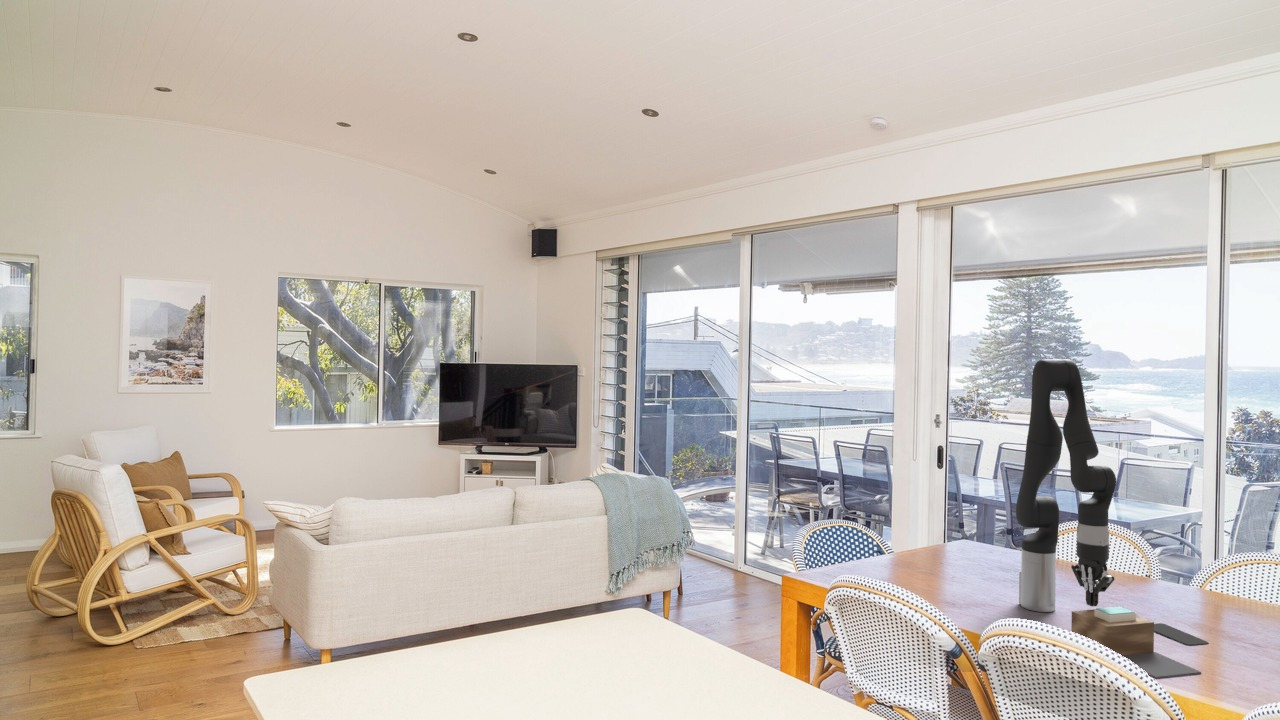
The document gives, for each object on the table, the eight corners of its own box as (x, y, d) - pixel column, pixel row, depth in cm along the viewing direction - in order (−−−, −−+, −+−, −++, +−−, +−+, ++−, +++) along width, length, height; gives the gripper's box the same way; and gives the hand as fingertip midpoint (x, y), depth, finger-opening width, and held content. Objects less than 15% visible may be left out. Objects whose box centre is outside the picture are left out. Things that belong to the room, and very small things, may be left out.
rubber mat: (1112, 657, 204) (1112, 656, 204) (1155, 653, 207) (1155, 652, 207) (1155, 678, 191) (1155, 676, 191) (1201, 673, 194) (1201, 671, 194)
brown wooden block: (1071, 641, 215) (1071, 611, 215) (1115, 637, 218) (1116, 607, 218) (1107, 658, 204) (1107, 626, 203) (1153, 653, 207) (1154, 622, 207)
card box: (1094, 615, 211) (1094, 608, 211) (1120, 613, 213) (1120, 606, 213) (1109, 622, 207) (1109, 614, 207) (1136, 620, 208) (1136, 612, 208)
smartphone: (1187, 644, 212) (1140, 624, 227) (1187, 648, 212) (1140, 627, 227) (1210, 642, 214) (1162, 622, 228) (1210, 646, 214) (1162, 626, 229)
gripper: (1062, 535, 223) (1061, 598, 223) (1100, 547, 210) (1099, 614, 210) (1085, 534, 224) (1085, 597, 225) (1124, 545, 212) (1123, 612, 212)
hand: (1092, 605), depth 217 cm, fingers closed
